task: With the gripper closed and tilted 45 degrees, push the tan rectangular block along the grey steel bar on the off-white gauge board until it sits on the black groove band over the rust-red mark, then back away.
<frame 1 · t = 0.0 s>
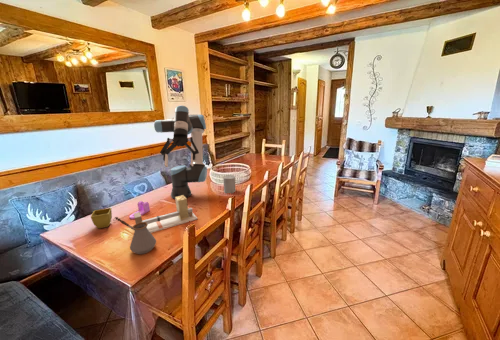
hand: (179, 165, 115), 36 cm above the table, tool tilted 35°, fingers open, 13 cm apart
rod gauge: (167, 223, 128), on the table
coffee pot: (136, 247, 107), on the table
gray cylinder: (229, 191, 176), on the table
flower pot: (104, 226, 128), on the table
tan rectangular block: (181, 207, 131), point 8 cm above the table, slide at 14.0 cm
bracket: (139, 214, 141), on the table
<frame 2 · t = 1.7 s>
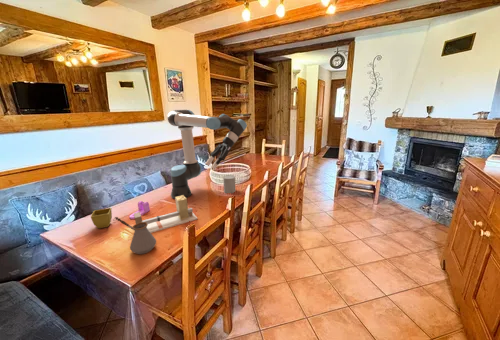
hand: (209, 166, 141), 29 cm above the table, tool tilted 45°, fingers open, 10 cm apart
nothing on the table moved.
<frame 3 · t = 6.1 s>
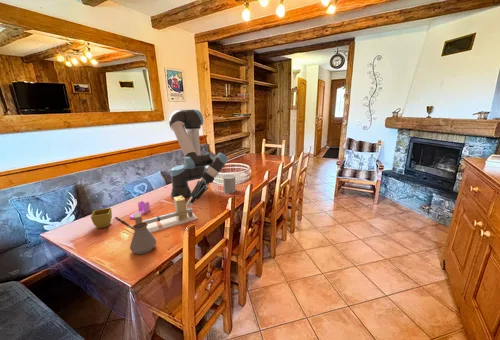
hand: (187, 206, 132), 8 cm above the table, tool tilted 45°, fingers closed
tan rectangular block: (180, 207, 131), point 8 cm above the table, slide at 13.0 cm, touching gripper
everything else where it was.
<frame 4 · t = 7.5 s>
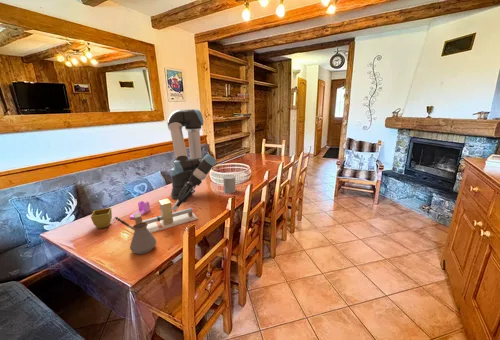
hand: (173, 210, 127), 8 cm above the table, tool tilted 45°, fingers closed
tan rectangular block: (166, 211, 126), point 8 cm above the table, slide at 4.8 cm, touching gripper
everything else where it was.
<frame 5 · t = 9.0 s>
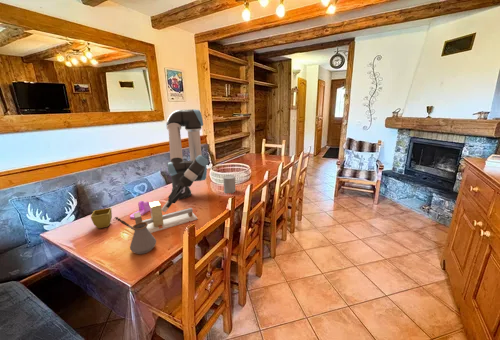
hand: (163, 210, 125), 9 cm above the table, tool tilted 45°, fingers closed
tan rectangular block: (156, 213, 124), point 8 cm above the table, slide at -0.6 cm, touching gripper
everything else where it was.
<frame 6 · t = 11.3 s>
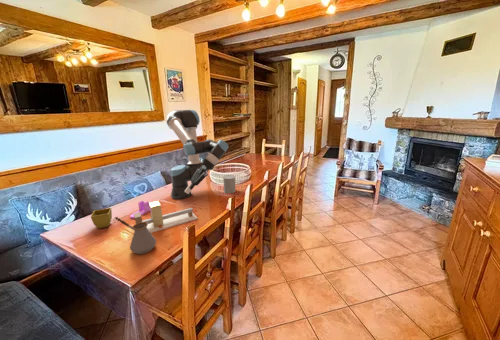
hand: (186, 192, 131), 16 cm above the table, tool tilted 45°, fingers closed
tan rectangular block: (156, 213, 124), point 8 cm above the table, slide at -0.7 cm
everything else where it was.
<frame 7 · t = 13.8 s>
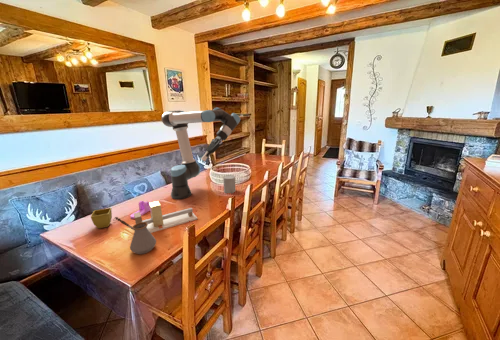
hand: (202, 160, 145), 32 cm above the table, tool tilted 45°, fingers closed
nothing on the table moved.
at the end: tan rectangular block slide at -0.7 cm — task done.
